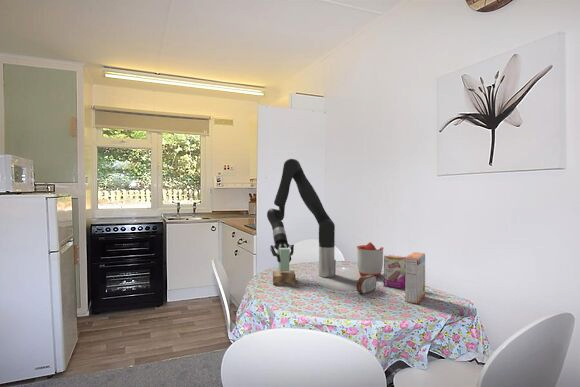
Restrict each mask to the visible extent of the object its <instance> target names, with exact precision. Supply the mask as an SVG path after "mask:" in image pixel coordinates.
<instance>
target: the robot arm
mask: <svg viewBox="0 0 580 387" xmlns="http://www.w3.org/2000/svg"><path fill="white" fill-rule="evenodd" d="M292 180H294V183H295V185H296V187H297V190H298V194H299V196H300V198H301V199H302V201H303V203H304V205H305V206H306V208H307V209H308V210H309V212H310V213H311V214H312V215H313V216H314V218H315V220H316V222H317V224H318V276H319V277H323V278H331V277H332V278H333V277H336V276H337V274H336V270H337V269H336V265H337V264H336V262H337V261H336V259H335V245H336V243H335V239H336V238H335V236H336V235H335V232H336V231H335V228H336V227H335V225H336V224H335V222H334V221H333V220H332V218H331V217H330V216H329V214H328V213H327V212H326V210H325V208H324V206H323V204H322V201H321V199H320V197H319V195H318V194H317V192H316V190H315V188H314V187H313V185H312V184H311V182H310V181H309V180H308V178H307V176H306V175H305V172H304V170H303V168H302V165H301V164H300V162H299V160H297V159H294V158H289V159H286V160H285V162H284V163H283V168H282V174H281V178H280V183H279V185H278V186H279V187H278V189H277V193H276V195H275V198H274V201H273V204H274V206H276V207H278V208H277V209H276V208H269V209H268V210H267V212H266V217H267V220H268V222H269V223H270V225H271V229H272V237H273V241H274V242H273V243H274V245H272V244H271V245H270V247H269V250H270V251H271V252H270V253H272V254H271V255H272V256H273V257H276V262H278V263H280V261H281V260H280V255H279V248H289V249H290V259H289V263H291V261H292V256H293V254H294V250H295V248H294V247H295V246H294V244H289V242H288V236H287V233H286V229H285V226H284V222H283V221H284V218H285V210H286V209H285V208H286V202H287V200H288V198H289V194H290V187H291V183H292ZM276 250H277V252H276Z"/></svg>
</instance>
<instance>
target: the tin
mask: <svg viewBox="0 0 580 387" xmlns="http://www.w3.org/2000/svg"><path fill="white" fill-rule="evenodd" d="M377 279H378V277H376V276H374V275H372V274H368V275H365V276H360V277H359V278H358V280H357V282H356V292H357V293H359V294H361V295H366V294H368V293H371V292H373V291H375V289H376V287H377V284H378V283H377V282H378V281H377Z"/></svg>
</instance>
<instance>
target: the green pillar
mask: <svg viewBox="0 0 580 387" xmlns="http://www.w3.org/2000/svg"><path fill="white" fill-rule="evenodd" d="M290 252H291V249H290V248H289V247H288V248H279V255H280V260H281V261H280V263H279V262H278V265H277V266H278V269H277V270H278V271H290V262H289V259H290Z"/></svg>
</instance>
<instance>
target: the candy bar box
mask: <svg viewBox="0 0 580 387" xmlns="http://www.w3.org/2000/svg"><path fill="white" fill-rule="evenodd" d="M407 256H408V255H407ZM407 256H405V255H397V254H396V255H395V254H385V255H383V287H389V288H398V289H405V257H407Z"/></svg>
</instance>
